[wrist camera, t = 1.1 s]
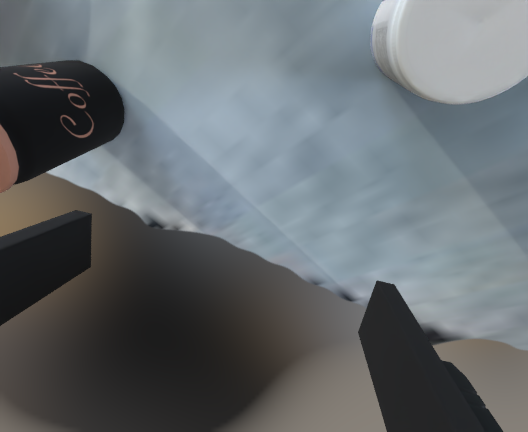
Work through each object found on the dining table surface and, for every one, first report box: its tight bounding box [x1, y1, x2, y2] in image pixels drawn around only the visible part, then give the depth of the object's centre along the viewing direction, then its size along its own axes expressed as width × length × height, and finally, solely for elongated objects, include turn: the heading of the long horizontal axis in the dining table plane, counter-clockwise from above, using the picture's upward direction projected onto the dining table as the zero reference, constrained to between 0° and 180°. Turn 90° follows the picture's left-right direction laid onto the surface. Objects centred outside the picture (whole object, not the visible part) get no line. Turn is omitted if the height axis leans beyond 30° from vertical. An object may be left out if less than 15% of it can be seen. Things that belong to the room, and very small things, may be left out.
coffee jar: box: [0, 61, 124, 193], centre depth 33 cm, size 11×11×18 cm
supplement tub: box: [370, 0, 528, 104], centre depth 23 cm, size 10×10×15 cm
